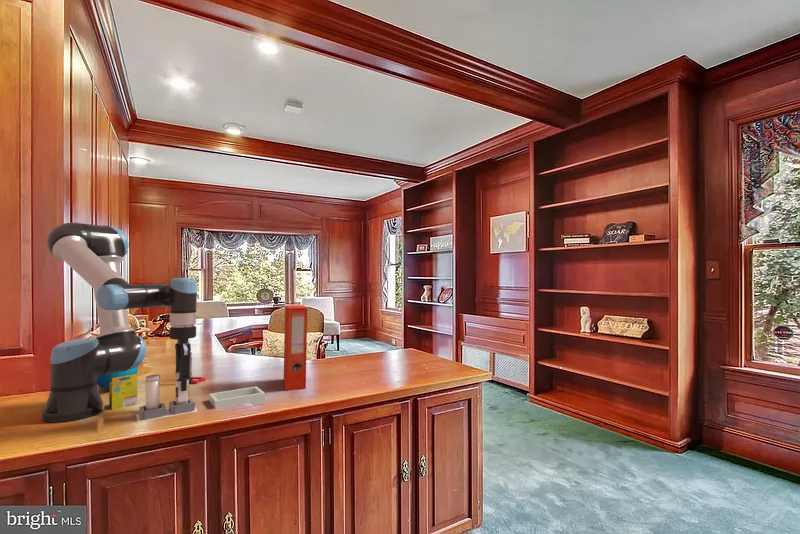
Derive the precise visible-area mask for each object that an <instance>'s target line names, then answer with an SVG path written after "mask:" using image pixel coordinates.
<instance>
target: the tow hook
mask: <svg viewBox="0 0 800 534" xmlns="http://www.w3.org/2000/svg"><path fill="white" fill-rule="evenodd" d="M192 364H193V357H192V352H191V351H190V375H189V376H190V378H189V385H193V384H194V385H195V384H196V385H197V384H198V383H201V382H205V380H206V377H204V376H192V372H193V371H192V369H193V368H192V366H193V365H192Z"/></svg>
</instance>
